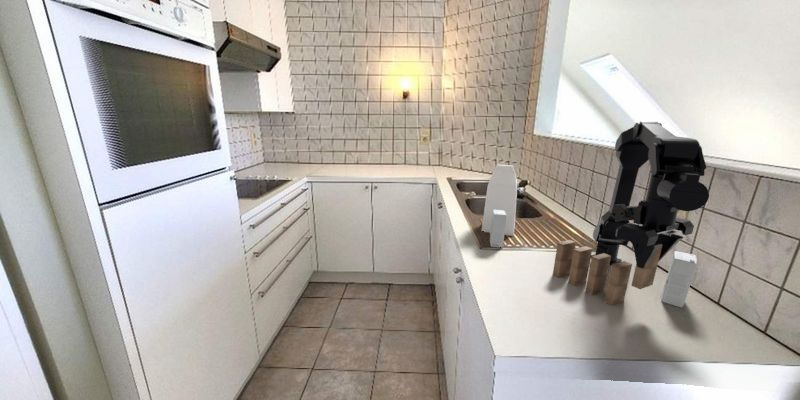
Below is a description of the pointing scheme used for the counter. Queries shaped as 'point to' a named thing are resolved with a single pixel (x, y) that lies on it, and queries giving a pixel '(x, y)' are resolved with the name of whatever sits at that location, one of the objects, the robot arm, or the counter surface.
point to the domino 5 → (646, 271)
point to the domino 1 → (563, 258)
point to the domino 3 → (598, 273)
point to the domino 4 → (618, 282)
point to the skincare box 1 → (498, 228)
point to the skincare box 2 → (679, 278)
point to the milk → (501, 197)
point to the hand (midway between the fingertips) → (646, 265)
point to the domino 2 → (580, 265)
